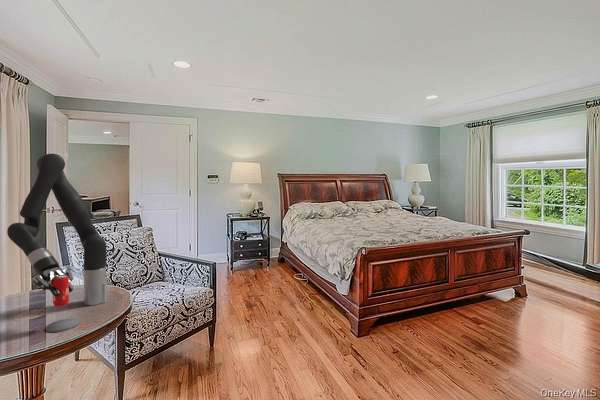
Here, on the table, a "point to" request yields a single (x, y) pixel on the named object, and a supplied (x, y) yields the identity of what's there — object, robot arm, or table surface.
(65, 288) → the beverage can
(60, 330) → the rubber mat
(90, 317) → the table surface
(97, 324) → the table surface
